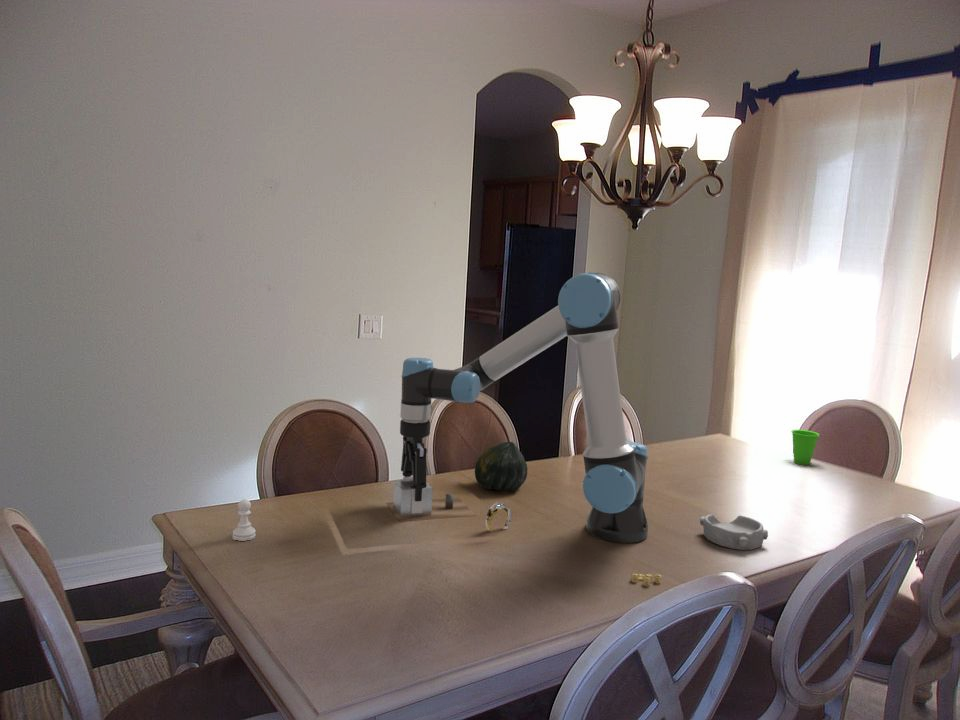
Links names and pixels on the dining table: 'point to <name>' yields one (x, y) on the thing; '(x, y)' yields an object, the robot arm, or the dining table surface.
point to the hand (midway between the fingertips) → (412, 506)
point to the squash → (501, 468)
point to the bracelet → (494, 506)
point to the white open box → (404, 496)
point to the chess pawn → (244, 523)
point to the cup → (803, 445)
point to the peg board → (439, 510)
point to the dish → (734, 532)
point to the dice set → (646, 578)
